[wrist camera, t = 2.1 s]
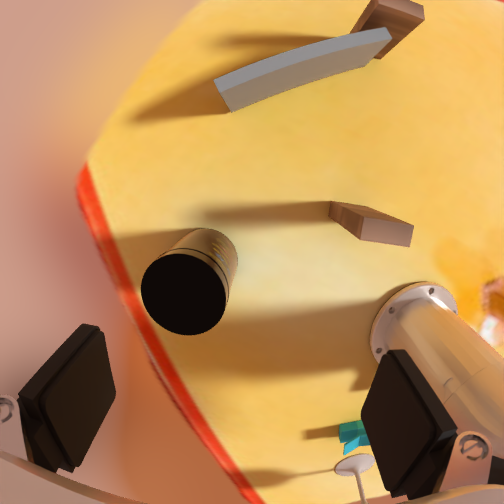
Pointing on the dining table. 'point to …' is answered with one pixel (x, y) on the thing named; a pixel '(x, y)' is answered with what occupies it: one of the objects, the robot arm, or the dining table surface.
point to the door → (300, 67)
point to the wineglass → (356, 469)
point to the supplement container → (191, 282)
